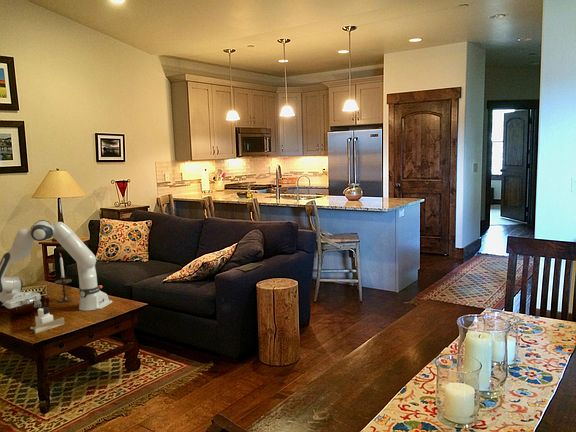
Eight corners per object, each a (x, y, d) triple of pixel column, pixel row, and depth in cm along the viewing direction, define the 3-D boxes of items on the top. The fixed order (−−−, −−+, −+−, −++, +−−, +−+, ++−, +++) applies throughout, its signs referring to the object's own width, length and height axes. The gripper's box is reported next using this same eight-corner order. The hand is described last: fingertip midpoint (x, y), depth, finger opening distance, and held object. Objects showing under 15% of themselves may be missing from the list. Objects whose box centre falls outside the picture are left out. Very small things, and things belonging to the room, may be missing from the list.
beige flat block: (25, 330, 283) (24, 324, 282) (53, 321, 298) (53, 314, 298) (36, 333, 277) (35, 327, 277) (64, 324, 292) (63, 317, 292)
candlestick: (53, 302, 337) (48, 253, 332) (64, 297, 347) (59, 250, 342) (65, 303, 334) (61, 254, 329) (76, 298, 344) (72, 250, 339)
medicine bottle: (47, 324, 293) (45, 305, 291) (54, 326, 289) (52, 307, 287) (36, 328, 287) (34, 308, 285) (43, 330, 283) (41, 310, 281)
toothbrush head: (33, 294, 346) (41, 296, 327) (34, 303, 346) (43, 306, 327) (25, 295, 343) (33, 298, 323) (26, 304, 343) (34, 308, 324)
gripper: (-1, 299, 292) (12, 302, 285) (32, 289, 309) (45, 292, 302) (1, 309, 293) (13, 312, 286) (33, 299, 310) (46, 302, 303)
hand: (30, 302), depth 294 cm, fingers closed
